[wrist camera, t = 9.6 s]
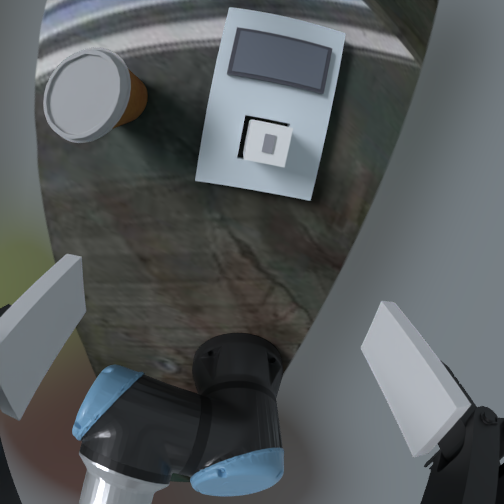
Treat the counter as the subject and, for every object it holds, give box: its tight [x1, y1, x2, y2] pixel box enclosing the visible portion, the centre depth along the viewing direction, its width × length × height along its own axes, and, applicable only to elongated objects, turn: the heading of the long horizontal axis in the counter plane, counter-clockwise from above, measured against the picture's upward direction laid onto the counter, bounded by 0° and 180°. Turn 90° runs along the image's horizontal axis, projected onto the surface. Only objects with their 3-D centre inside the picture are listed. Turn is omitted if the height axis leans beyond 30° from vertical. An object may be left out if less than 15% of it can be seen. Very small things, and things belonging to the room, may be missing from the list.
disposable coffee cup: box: [43, 48, 148, 143], centre depth 26 cm, size 10×10×12 cm
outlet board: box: [195, 7, 346, 201], centre depth 32 cm, size 22×14×2 cm, turn 169°
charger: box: [243, 120, 293, 167], centre depth 31 cm, size 4×4×8 cm
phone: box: [227, 27, 332, 95], centre depth 29 cm, size 6×11×1 cm, turn 79°
